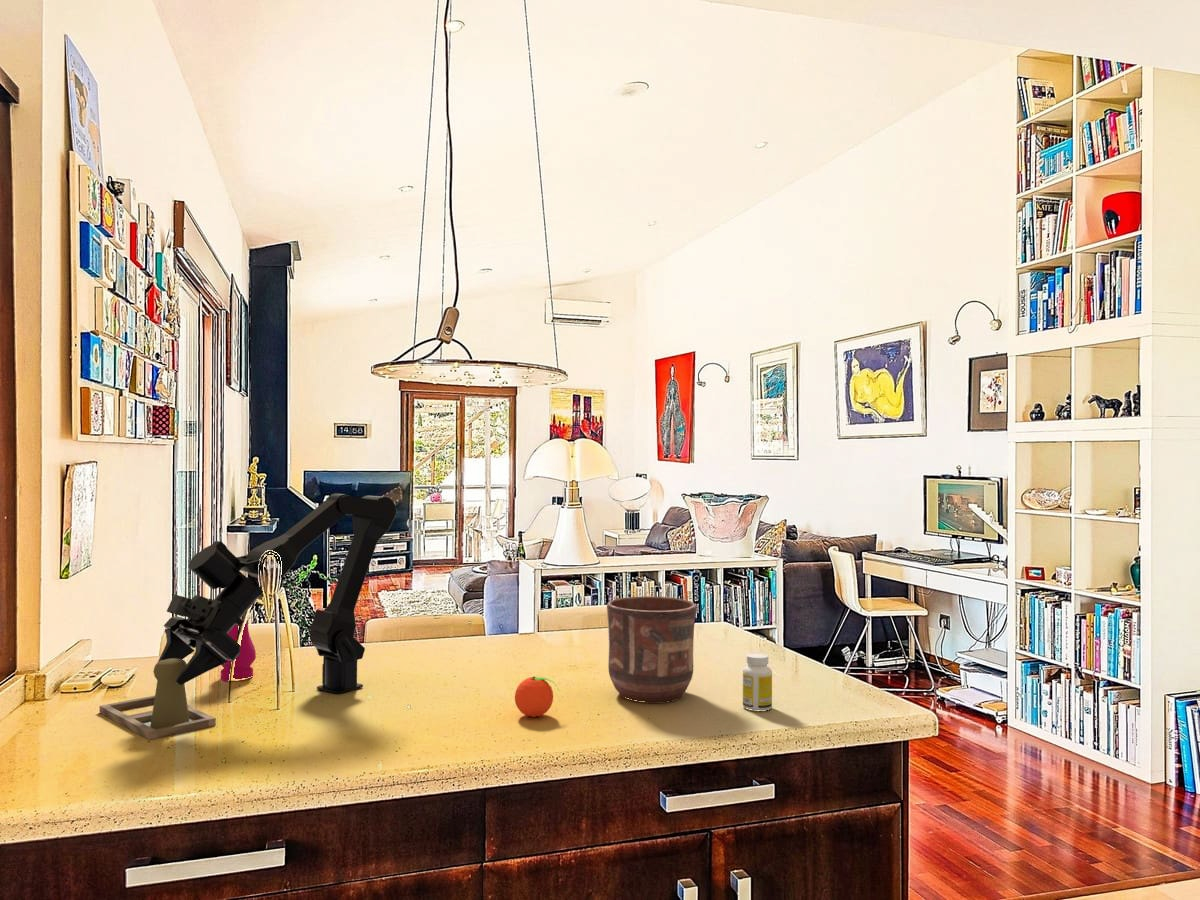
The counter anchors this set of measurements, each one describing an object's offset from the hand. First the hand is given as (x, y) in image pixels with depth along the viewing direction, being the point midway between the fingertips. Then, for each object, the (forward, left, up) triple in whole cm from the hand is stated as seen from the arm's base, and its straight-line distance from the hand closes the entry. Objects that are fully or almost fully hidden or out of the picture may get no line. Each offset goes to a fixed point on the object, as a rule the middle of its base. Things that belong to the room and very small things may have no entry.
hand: (166, 678), depth 153 cm
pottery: (-59, -64, -8) cm, 87 cm away
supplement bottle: (-80, -67, -8) cm, 104 cm away
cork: (0, -1, -8) cm, 8 cm away
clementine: (-49, -40, -8) cm, 64 cm away
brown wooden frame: (+5, -1, -8) cm, 10 cm away
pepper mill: (+18, -27, -8) cm, 34 cm away
